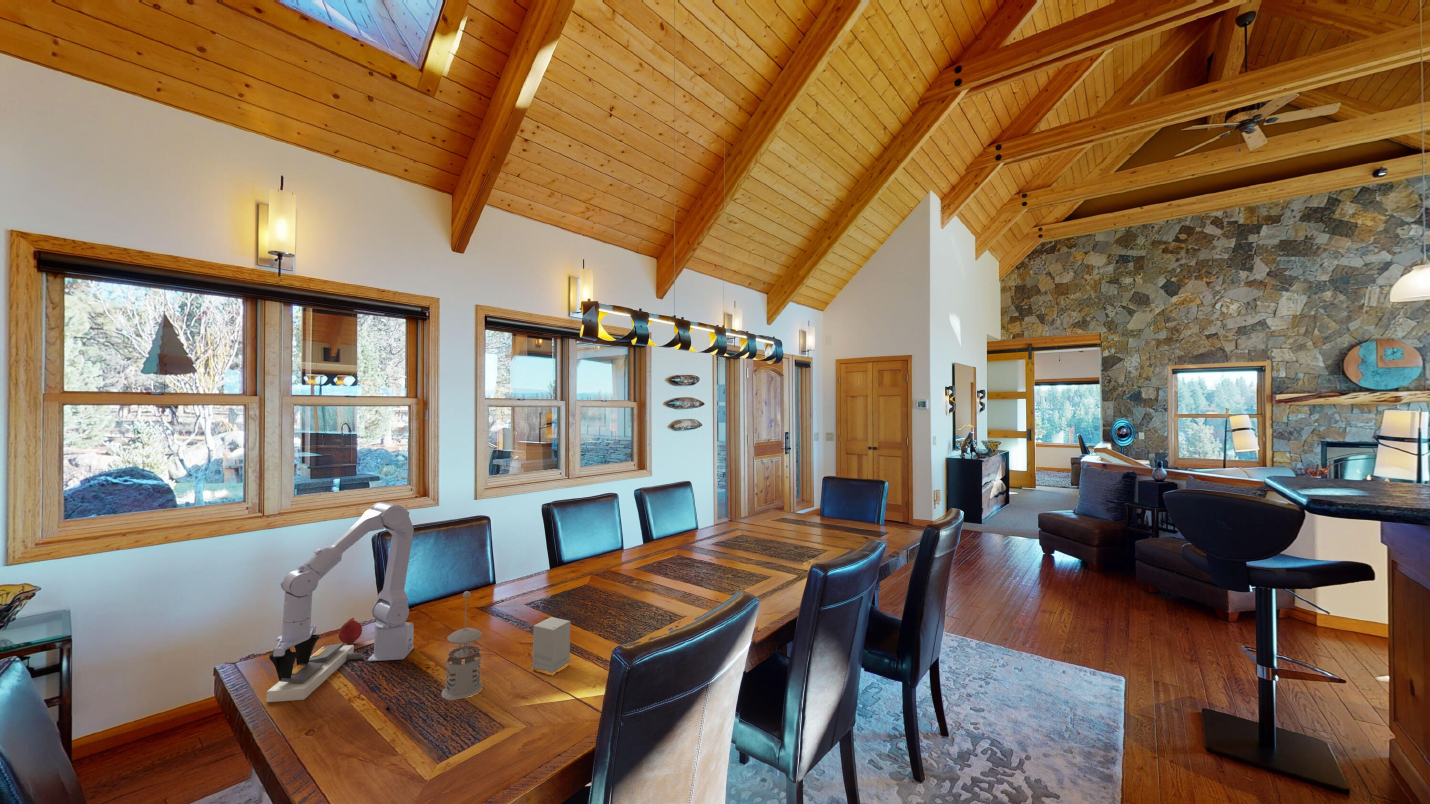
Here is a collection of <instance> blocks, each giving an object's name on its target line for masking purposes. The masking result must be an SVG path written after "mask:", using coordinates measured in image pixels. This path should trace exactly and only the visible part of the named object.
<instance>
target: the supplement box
mask: <svg viewBox="0 0 1430 804" xmlns="http://www.w3.org/2000/svg"><path fill="white" fill-rule="evenodd" d="M532 640H533V641H532V644H533V645H532V646H533V647H532V669H533V668H535V669H538V670H543V671H548V672H550V673H553V672H555V671H556V670H558V669H559V668H561V667H562V666H564V665H565V664H567V663H569V664H570V661H571V660H570V657H571V656H570V654H571V653H570V652H571V651H570V648H571V620H567V619H562V618H558V617H553V616H550V617H548V618H546V619H544V620H542V621H540V622H539V623H536V624H534V625H533V639H532Z"/></svg>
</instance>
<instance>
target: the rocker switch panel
mask: <svg viewBox="0 0 1430 804" xmlns="http://www.w3.org/2000/svg"><path fill="white" fill-rule="evenodd" d="M323 647H324V646H322V647H321V648H319V649H318V650H317V651H315V652H314V653H313V654H311V656H310V658H311V657H312V656H313V655H314V654H315V653H317V652H318V651H319V650H320V649H322V648H323ZM354 648H355V645H354V644H351V645H348V644H344V646H343V647H342V648H340V649H339V650H338V651H337V652H336V653H335V654H333V655H332V656H331V657H330V658H329V659H328V660H324V661H319V662H314V663H323V667H321V668H320V669H319V670H318V671H317V672H316V673H314V674H313V675H312V676H311V677H310V678H309V679H308V680H306V681H305V682H304V683H293V682H281V681H278V682H276V684H274V685H273V686H271V688H269V689H268V690H267V691H266V702H265V703H275V702H277V703H278V702H289V701H304V700H305V699H306V698H308V696H310V695H311V694H312V693H313V692H314V691H315V690H316V689H318V687H320V686H321V685H322V684H323V683H324V682H325V681H326V680H327V679H329V677H331V675H332V674H334V673H335V672H336V671H337V670H339V668H341V666H342V665H344V663H346V662H347V661H352V660H361V659H362V658H363V652H354V651H355V650H354Z"/></svg>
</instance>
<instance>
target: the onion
mask: <svg viewBox="0 0 1430 804" xmlns="http://www.w3.org/2000/svg"><path fill="white" fill-rule="evenodd" d="M362 634H363V627H362V625H361V623H360V622H359V621H357V620H355V617H350V618H349V619H348V620H347V621H346V622H345V623H344V624H343V625H342V626H341V627H340V629H339V631H338V638H339V640H340V642H341V643H344V645H354V643H355V642H356V641H358V639H359V638H360V637H361V636H362Z"/></svg>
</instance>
